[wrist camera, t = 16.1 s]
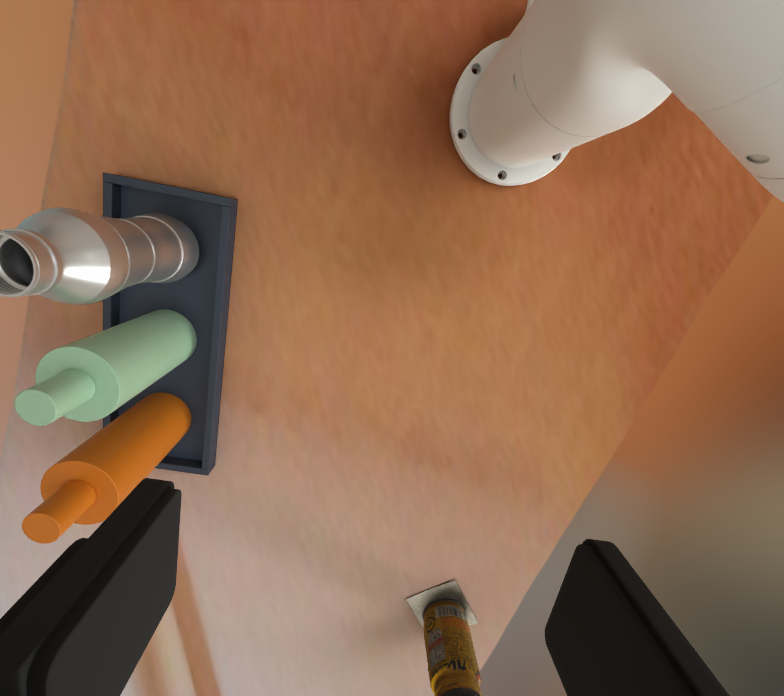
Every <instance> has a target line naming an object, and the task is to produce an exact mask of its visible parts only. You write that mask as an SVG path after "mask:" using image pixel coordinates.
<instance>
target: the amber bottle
mask: <svg viewBox="0 0 784 696" xmlns="http://www.w3.org/2000/svg"><path fill="white" fill-rule="evenodd" d="M190 426H191V413H190V411H189V408H188V407H187V405H186V404H185V403H184V402H183V401H182V400H181V399H180V398H178V397H176V396H174V395H172V394H169V393H163V392H158V393H153V394H150V395H148V396H146V397H145V398H143V399H142V400H140V401H139V402H138V403H136V404H135V405H134V406H132V407H131V408H130V409H128V410H127V411H126V412H124V413H123V414H122V415H120V416H119V417H118V418H116V419H115V420H114V421H112V422H111V423H110V424H108V425H107V426H106V427H104V428H103V429H102V430H100V431H99V432H97V433H96V434H95V435H93V436H92V437H91V438H89V439H88V440H87V441H85V442H84V443H83V444H81V445H80V446H79V447H77V448H76V449H75V450H73V451H72V452H71V453H69V454H68V455H67V456H65V457H64V458H63V459H61V460H60V461H58V462H57V463H56V464H54V465H53V466H52V467H51V468H49V469H48V470H47V471H46V472H45V474H44V476H43V478H42V480H41V494H42V497H43V500H44V502H43V503H42V504H41V505H40V506H38V507H37V508H36V509H35V510H34V511H32V512H31V513H30V514H29V515H28V516H26V517H25V518H24V520H23V522H22V529H23V531H24V533H25V535H26V536H27V537H28V538H30V539H31V540H33V541H35V542H38V543H51V542H54V541H55V540H57V539H58V538H59V537H60V536H61V535H62V534H63V533H64V532H65V531H66V530H67V529H68V528H69V527H70V526H71V525H72V524H73V523H76V524H84V525H88V524H96V523H99V522H102V521H104V520H106V519H107V518H108V517H109V515H110V514H111V513H112V512H113V511H114V510H115V509H116V508H117V507H118V506H119V505H120V503H121V502H122V501H123V500H124V499H125V498H126V497H127V496H128V495H129V494H130V493H131V491H132V490H133V489H134V488H135V487H136V486H137V485H138V484H139V483H140V482H141V481H142V480H143V479H145V478H146V477H147V476H148V475H149V474H150V473H151V471H152V470H153V469H154V468H155V467H156V466H157V465H158V464H159V463H160V462H161V460H162V459H163V458H164V457H165V456H166V455H167V454H168V453H169V452H170V451H171V449H172V448H173V447H174V446H175V445H176V444H177V443H178V442H179V441H180V440H181V438H182V437H183V436H184V435H185V434H186V433H187V432H188V430H189V428H190Z"/></svg>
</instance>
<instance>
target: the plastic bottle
mask: <svg viewBox="0 0 784 696" xmlns="http://www.w3.org/2000/svg"><path fill="white" fill-rule="evenodd" d="M198 259H199V245H198V241H197V239H196V237H195V235H194V233H193V232H192V230H191V229H190V228H189V227H188V226H187V225H186V224H184V223H183V222H181V221H180V220H178V219H176V218H173V217H171V216H169V215H165V214H162V213H147V214H142V215H138V216H135V217H132V218H126V219H118V218H110V217H103V216H100V215H96V214H92V213H88V212H85V211H81V210H76V209H70V208H52V209H47V210H44V211H41V212H38V213H36V214H33V215H31V216H30V217H28V218H26V219H25V220H23V222H22V223H21V224H19V226H18V227H17V228H15V229H5V230H0V296H2V297H18V296H24V295H30V296H31V295H38V294H40V295H42V296H43V297H46V298H48V299H50V300H53V301H56V302H61V303H67V304H77V305H85V304H92V303H95V302H98V301H101V300H103V299H106V298H108V297H110V296H112V295H114V294H115V293H117V292H119V291H121V290H123V289H125V288H126V287H129V286H132V285H135V284H138V283H145V282H152V283H169V282H174V281H177V280H180V279H182V278H183V277H185V276H186V275H187V274H189V273H190V272H191V271H192V270H193V269H194V267H195V266H196V264H197V262H198Z"/></svg>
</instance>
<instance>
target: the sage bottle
mask: <svg viewBox="0 0 784 696" xmlns="http://www.w3.org/2000/svg"><path fill="white" fill-rule="evenodd" d="M196 344H197V337H196V332H195V330H194V328H193V326H192V324H191V323H190V322H189V321H188V320H187V319H186V318H185V317H184V316H183V315H181V314H179V313H177V312H175V311H171V310H156V311H153V312H151V313H148V314H145V315H143V316H140V317H138V318H135V319H132V320H130V321H127V322H124V323H122V324H119V325H117V326H114V327H111V328H109V329H106V330H104V331H101V332H98V333H96V334H93V335H91V336H88V337H85V338H83V339H80V340H78V341H75V342H72V343H70V344H67V345H64V346H62V347H59V348H57V349H54V350H52V351H50V352H49V353H47V354H46V355H45V356H44V357H43V358H42V359H41V360H40V362H39V364H38V366H37V369H36V374H35V380H36V385H35V386H33V387H30V388H28V389H26V390H24V391H22V392H20V393H19V394H18V396H17V397H16V399H15V409H16V412H17V413H18V415H19V416H20V417H21V418H22V419H23V420H24V421H26V422H27V423H29V424H32V425H36V426H43V425H48V424H50V423H52V422H53V421H55V420H57V419H58V418H60V417H61V416H63V417H66V418H68V419H71V420H75V421H82V422H90V421H96V420H100V419H102V418H104V417H106V416H108V415H109V414H110V413H112V412H113V411H115V410H116V409H117V408H119V407H120V406H122V405H123V404H125V403H126V402H127V401H129V400H130V399H132V398H133V397H134V396H136V395H137V394H139V393H140V392H141V391H143V390H144V389H146V388H147V387H149V386H150V385H151V384H153V383H154V382H156V381H157V380H158V379H160V378H161V377H163V376H164V375H165V374H167V373H168V372H170V371H171V370H173V369H174V368H175V367H177V366H178V365H180V364H181V363H182V362H184V361H185V360H187V359H188V358H189V357H190V356H191V355H192V354H193V352H194V350H195V348H196Z"/></svg>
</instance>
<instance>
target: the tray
mask: <svg viewBox="0 0 784 696" xmlns="http://www.w3.org/2000/svg"><path fill="white" fill-rule="evenodd" d="M103 181H104V182H103V217H110V218H118V219H126V218H132V217H135V216H138V215H142V214H147V213H162V214H165V215H169V216H171V217H173V218H176V219H178V220H180V221H181V222H183V223H184V224H186V225H187V226H188V227H189V228H190V229H191V230H192V232H193V233H194V235H195V237H196V239H197V241H198V245H199V259H198V262H197V264H196V266H195V267H194V269H193V270H192V271H191V272H190V273H189V274H187V275H186V276H185V277H183V278H182V279H180V280H177V281H174V282H169V283H152V282H145V283H138V284H135V285H132V286H129V287H126V288H125V289H123V290H121V291H119V292H117V293H115V294H114V295H112V296H110V297H108V298H106V299H103V331H104V330H106V329H109V328H111V327H114V326H117V325H119V324H122V323H124V322H127V321H130V320H132V319H135V318H138V317H140V316H143V315H145V314H148V313H151V312H153V311H156V310H171V311H175V312H177V313H179V314H181V315H183V316H184V317H185V318H186V319H187V320H188V321H189V322H190V323H191V324H192V326H193V328H194V330H195V332H196V337H197V344H196V348H195V350H194V352H193V354H192V355H191V356H190V357H189V358H188V359H187V360H185V361H184V362H182V363H181V364H180V365H178V366H177V367H175V368H174V369H173V370H171V371H170V372H168V373H167V374H165V375H164V376H163V377H161V378H160V379H158V380H157V381H156V382H154V383H153V384H151V385H150V386H149V387H147V388H146V389H144V390H143V391H141V392H140V393H139V394H137V395H136V396H134V397H133V398H132V399H130V400H129V401H127V402H126V403H125V404H123V405H122V406H120V407H119V408H117V409H116V410H115V411H113V412H112V413H110V414H109V415H108V416H106V417H104V418H103V428H104V427H106V426H107V425H108V424H110V423H111V422H112V421H114V420H115V419H116V418H118V417H119V416H120V415H122V414H123V413H124V412H126V411H127V410H128V409H130V408H131V407H132V406H134V405H135V404H136V403H138V402H139V401H140V400H142V399H143V398H145V397H146V396H148V395H150V394H153V393H158V392H163V393H169V394H172V395H174V396H176V397H178V398H180V399H181V400H182V401H183V402H184V403H185V404H186V405H187V407H188V408H189V411H190V413H191V426H190V428H189V430H188V432H187V433H186V434H185V435H184V436H183V437H182V438H181V440H180V441H179V442H178V443H177V444H176V445H175V446H174V447H173V448H172V449H171V451H170V452H169V453H168V454H167V455H166V456H165V457H164V458H163V459H162V460H161V462H160V463H159V464H158V465H157V466H156V467H155V468H158V469H166V470H173V471H180V472H187V473H194V474H201V475H209V473H210V472H211V470H212V469H213V467H214V466H215V457H216V445H217V434H218V422H219V411H220V399H221V388H222V376H223V364H224V353H225V341H226V330H227V318H228V306H229V295H230V283H231V272H232V260H233V248H234V237H235V225H236V214H237V202H238V200H237V199H232V198H227V197H223V196H218V195H213V194H208V193H203V192H198V191H193V190H188V189H183V188H178V187H173V186H168V185H163V184H158V183H153V182H149V181H144V180H139V179H134V178H129V177H124V176H119V175H114V174H109V173H104V172H103Z"/></svg>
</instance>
